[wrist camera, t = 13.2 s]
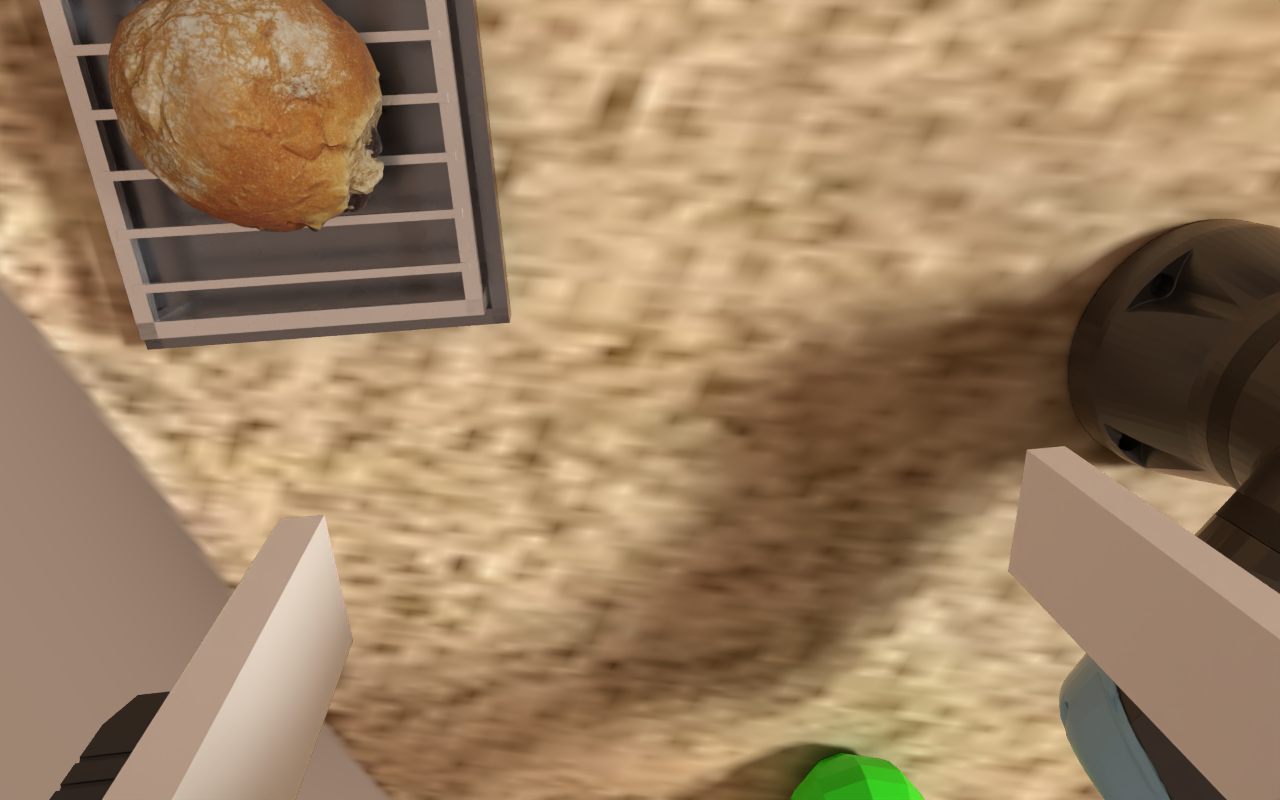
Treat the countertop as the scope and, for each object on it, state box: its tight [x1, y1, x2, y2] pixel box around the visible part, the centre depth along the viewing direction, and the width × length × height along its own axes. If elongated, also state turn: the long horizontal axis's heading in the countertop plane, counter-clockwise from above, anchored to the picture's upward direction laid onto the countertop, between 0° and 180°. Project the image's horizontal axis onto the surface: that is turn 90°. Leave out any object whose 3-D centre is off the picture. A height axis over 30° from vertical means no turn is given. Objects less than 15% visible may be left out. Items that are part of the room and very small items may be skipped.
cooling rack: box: [39, 0, 511, 350], centre depth 35 cm, size 18×22×4 cm
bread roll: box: [108, 0, 384, 232], centre depth 31 cm, size 10×10×8 cm
